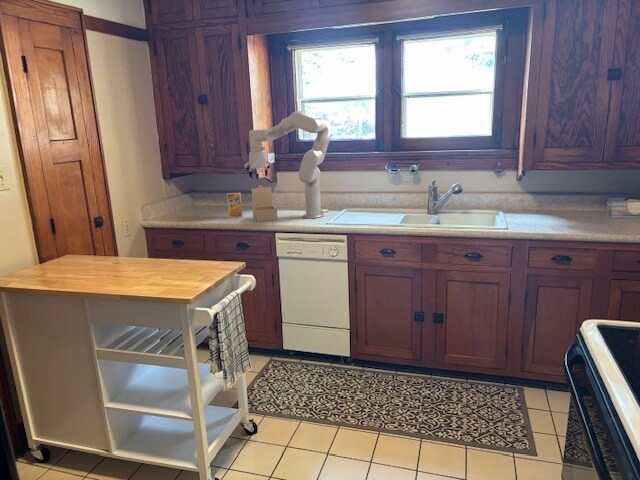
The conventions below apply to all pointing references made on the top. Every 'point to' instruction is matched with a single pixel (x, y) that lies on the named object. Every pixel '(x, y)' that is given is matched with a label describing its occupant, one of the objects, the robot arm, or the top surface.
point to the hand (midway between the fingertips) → (258, 176)
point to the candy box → (234, 205)
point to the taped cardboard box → (261, 196)
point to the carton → (264, 213)
